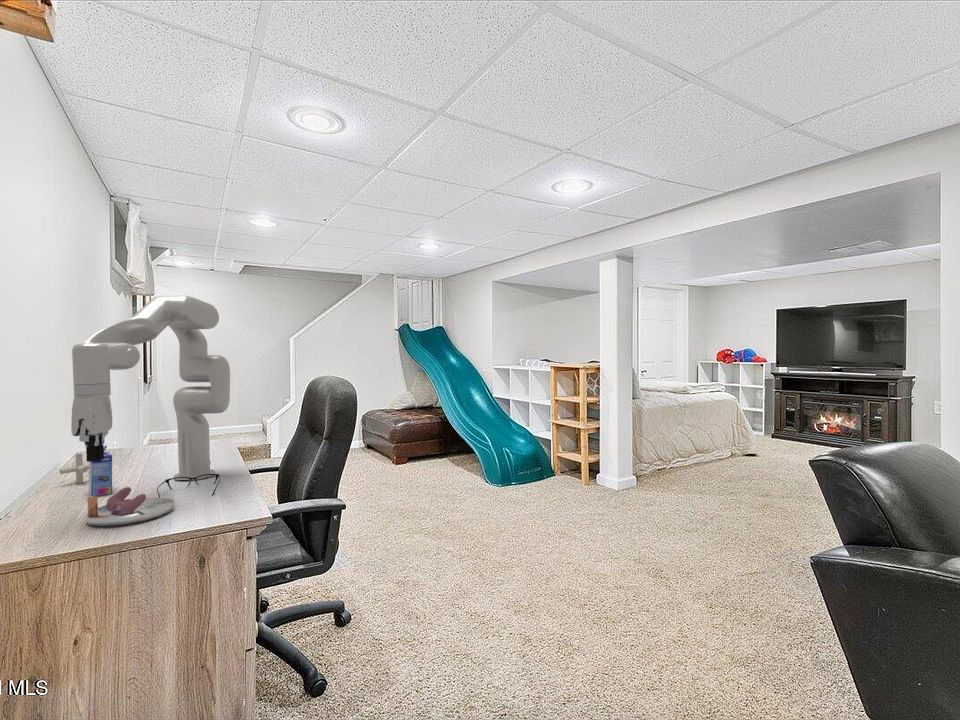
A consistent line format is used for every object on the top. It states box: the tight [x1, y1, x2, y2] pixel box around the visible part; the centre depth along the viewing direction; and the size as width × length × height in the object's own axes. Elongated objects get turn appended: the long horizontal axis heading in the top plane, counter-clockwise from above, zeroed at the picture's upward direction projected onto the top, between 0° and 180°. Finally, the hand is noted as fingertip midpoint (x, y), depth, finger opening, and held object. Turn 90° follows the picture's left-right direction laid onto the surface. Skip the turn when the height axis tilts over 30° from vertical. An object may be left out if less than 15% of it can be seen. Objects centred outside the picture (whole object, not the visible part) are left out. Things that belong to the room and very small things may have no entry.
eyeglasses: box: [156, 473, 221, 497], centre depth 151 cm, size 16×16×4 cm
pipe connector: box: [59, 452, 89, 484], centre depth 165 cm, size 10×10×10 cm
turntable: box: [85, 495, 175, 527], centre depth 130 cm, size 19×19×6 cm
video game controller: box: [105, 486, 147, 515], centre depth 128 cm, size 10×5×7 cm
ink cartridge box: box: [88, 444, 113, 497], centre depth 153 cm, size 10×6×14 cm, turn 42°
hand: (95, 460), depth 128 cm, fingers closed
